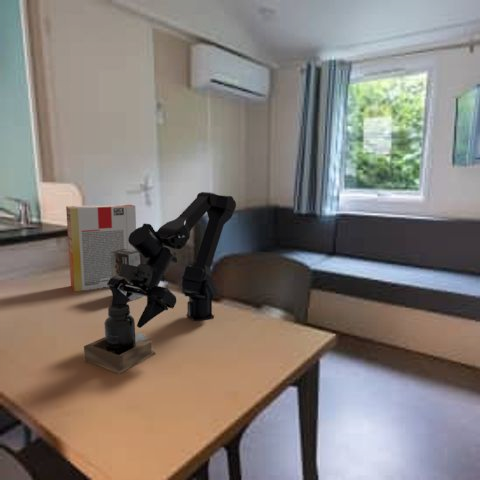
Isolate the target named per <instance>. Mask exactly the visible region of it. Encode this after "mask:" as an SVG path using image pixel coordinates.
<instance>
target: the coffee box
mask: <svg viewBox="0 0 480 480" xmlns="http://www.w3.org/2000/svg"><path fill="white" fill-rule="evenodd" d="M122 264H127V265H133V266H138V265H140V264H143V257H142V256H141V255H140V254H139V252H138V251H136V250H129V249H120V250H116V251H113V252H111V270H112V277H118V278H123V279H125V280H126V281H127V282H128V283H129V284H130V285H133V283H130V282H129V281H128V279H129V278H126V277H119V276H118V275H119V272H120V268H121V265H122ZM137 291H138V290H137ZM143 297H144V296H142V295H138V294H132V295H131V296H130V297H128V298H129V299H130V300H129V301H130V302H132V301H134V300H138V299H140V298H143ZM129 301H128V302H129Z"/></svg>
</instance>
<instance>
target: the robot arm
mask: <svg viewBox="0 0 480 480" xmlns="http://www.w3.org/2000/svg"><path fill="white" fill-rule="evenodd" d="M236 208H237V202H236V200H235V198H234V197H233V196H232V195H220V194H217V193H214V192H208V191H207V192H206V191H205V192H204V191H201V192H199V193H197V195H196V198H194V200H193V201H192V202H191V203H190V204H189V205H188V206H187V207H186V208H185V209H183V211H182V212H181V213H180V214H179V216H178V217H176V218H175V219H173V220H169V221H167V222H165V224H163V225H161V226H159V228H158V230H155V229H154V227H153V226H152V224H151V223H146V222H145V223H143V224H142V225H141V226H140V227H136V230H134V231H133V232H132V233H131V234H130V236H129V239H128V241H129V243H130V244H131V245H132V246H133V247H134V248H135V249H136V250H137V251H138V252H139V254H140V255H141V256H142V258H144V259H145V261H144V263H142V264H140V265H138V266H133V265H127V264H122V265H121V268H120V272H119V275H118V276H119V277H126V278H129V279H128V281H129V282H130V283H133V285H130V284H129V283H128V282H127V281H126V280H125V279H123V278H118V277H112V278H110V280H109V281H108V283H107V285H108V286H109V287H108V289H109V291H111V295H112V301H111V305H114V304H121V303H122V304H128V302H129V300H130V299H129V298H128V297H130V296H131V295H132V294H138V295H142V296H143V297H146V305H145V307H144V310H143V311H142V313H141V315H140V317H139V319H138V321H137V324H136V327H137V328H139V329H141V328H143V327H144V326H145V325H146V324H148V323H149V322H150V321H151V320H153V319H154V318H155V317H157V316H158V315H160V314H161V313H163V312H164V311H168V310H169V309H174V308H175V306H176V304H177V296H176V295H175V294H174V293H173V292H172V291H171V290H170V289H169V288H168V287H165V286H160V283H161V282H163V283H164V282H165V280H166V277H165V276H164V275H165V274H166V272H167V269H168V267H169V266H170V264H171V263H174V264H177V262H178V258H177V255H176V252H174V251H171V250H170V249H175V250H181V249H183V248H184V247H185V246H186V244H187V243H188V241H189V239H190V238H191V237H190V236H191V230H192V229H193V228H194V227H195V226H196V224H197V223H198V222H199V221H200V220H201V219H202V218H203V216H204V215H205V214H206V215H207V217H208V221H207V224H206V227H205V230H204V232H203V236H202V239H201V241H200V242H201V243H200V245H199V249H198V252H197V255H196V257H195V261H194V263H193V264H191V265H187V266H186V267H185V269H184V271H183V272H184V273H183V275H182V277H181V279H182V281H181V287H182V291H183V293H184V297H188V301H187V313H186V314H187V315H188V316H189V318H190V319H192V321H203V320H209V319H213V318H215V315H214V314H212V313H213V305H212V304H213V300H215V298H217V294H218V289H217V288H216V287H215V285H214V284H213V283H212V282H213V278H214V277H213V273H212V270H211V267H212V264H213V261H214V258H215V253H216V251H217V248H218V244H219V241H220V238H221V236H222V235H221V234H222V233H223V229H224V227H225V224H226V223H227V222H229V220H230V219H231V218H232V217H233V215H234V213H235V209H236ZM137 290H138V291H137Z"/></svg>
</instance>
